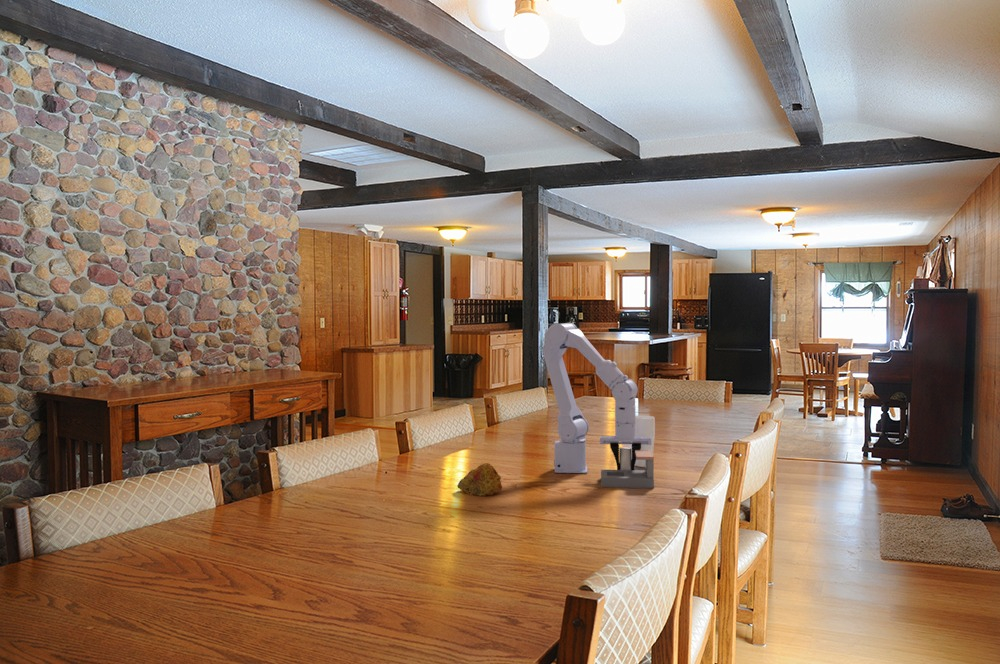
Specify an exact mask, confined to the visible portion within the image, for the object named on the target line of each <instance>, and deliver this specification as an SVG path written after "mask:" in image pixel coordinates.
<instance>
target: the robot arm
mask: <svg viewBox="0 0 1000 664" xmlns="http://www.w3.org/2000/svg"><path fill="white" fill-rule="evenodd" d="M544 338H545V342H544V347H543V358H544V361H545V362H544V363H545V365H546V369H547V372H548V377H549V379H550V382H551V383H550V384H551V387H552V390H553V393H554V397H555V401H556V404H557V407H558V411H559V412H558V416H557V418H556V420H557V424H558V425H557V426H558V427H557V435H558V437H559V438H560V440H554V459H553V466H554V473H557V474H561V473H563V474H588V465H587V446H586V445H587V443H586V441H587V439H586V435H587V434H588V432H589V430H590V424H589V422H588V420H587V419H586V418H585V417H584V415H583V414H584V413H583V412H582V411H581V409H580V408H579V407H578V405H577V402H576V399H575V396H574V392H573V389H572V386H571V382H570V379H569V375H568V371H567V368H566V365H565V361H564V358H563V355H564V354H565V353H566V351H567V349H568V348H573V349H576V350H578V351H579V352H580V354H582V355H583V356H584V358H586V359H587V360H588V361H589V362H590V364H592V366H594V367H595V374H596V375H597V376H598V378H600V379H601V381H602V382H603V383H604V384H605V385H606V386H607V388H609V389H610V390H611V395H612V397H613V399H614V400H615V401H614V402H615V403H614V405H615V407H614V418H615V420H614V421H615V422H614V424H615V425H614V426H615V428H614V429H615V430H614V433H615V435H609V436H599V445H609V447H610V449H611V452H612V453H613V456H614V461H615V463H616V470H620V458H619V448H620V445H631V454H632V470H635V467H636V465H635V462H636V455H635V450H640V449H641V444H647V445H651V437H639V436H635V416H636V396H637V395H638V392H639V389H638V388H639V387H638V385H637V384H636V382H635V380H634V379H631V378H629V376H628V375H627V374H624V373H623V372H622V371H621V370H620V369H619V368H618V364H617V362H616V361H612V360H611V359H605V358H604V357H603V356H602V355H601V354H600V352H599V351H598V350H597V349H596V348H595V347H594V346H593V344H592V343H591V342H590V341H589V339H588V338H587V337H586V336H585V335H584V333H583V332H582V330H581V329H580V328H578V327H577V325H576V324H574V323H572V322H565V323H558V322H557V323H553V324H551V325H550V326H549V327H548V329H547V330H546V332H545V333H544Z"/></svg>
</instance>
